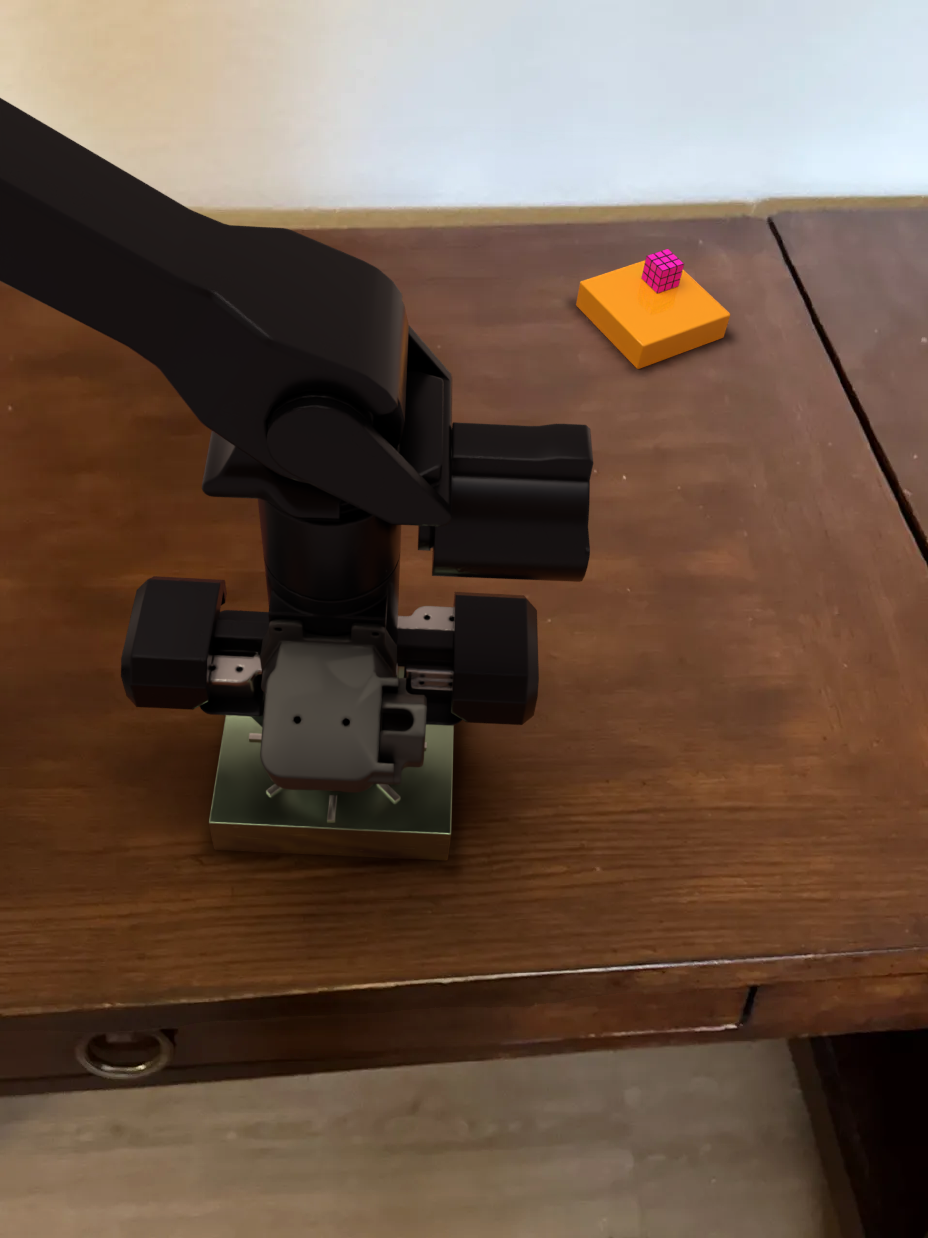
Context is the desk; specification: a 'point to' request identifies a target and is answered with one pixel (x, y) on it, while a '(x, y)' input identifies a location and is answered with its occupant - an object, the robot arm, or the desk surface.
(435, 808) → the dial panel
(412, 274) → the desk surface
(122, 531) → the desk surface
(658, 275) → the orange square platform
